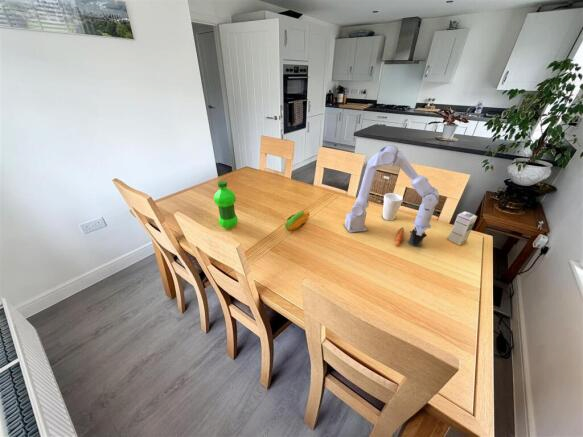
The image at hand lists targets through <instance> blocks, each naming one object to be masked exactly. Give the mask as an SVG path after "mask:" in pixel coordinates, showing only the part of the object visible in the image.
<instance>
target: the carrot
mask: <svg viewBox="0 0 583 437" xmlns="http://www.w3.org/2000/svg"><path fill="white" fill-rule="evenodd" d="M404 235H405V229H404V227H400V229H399V230H398V231H397V235H396V242H395V246H397V247H399V246H400V244H401V242H402V241H403V238H404Z"/></svg>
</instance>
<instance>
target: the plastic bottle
mask: <svg viewBox="0 0 583 437" xmlns="http://www.w3.org/2000/svg"><path fill="white" fill-rule="evenodd" d="M217 185H218V188H219V189H218V190H217V191H215V193H214V195H213V201H214V203H215V205H216V206H217V208H218V212H219V217H218V224H219V225H220V226H221V227H222V228H224V229H226V230H231V229H233V228H234V227H235V226H237V224H238V223H239V219H238V216H237V214H236V209H235V203H236V199H237V198H236V195H235V192H234V191H233V190H231V189H229V188H227V187H228V181H226V180H219V181H218V182H217Z"/></svg>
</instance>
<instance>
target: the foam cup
mask: <svg viewBox="0 0 583 437" xmlns="http://www.w3.org/2000/svg"><path fill="white" fill-rule="evenodd" d="M403 201H404V197H403V196H402V195H401V194H398V193H395V192H387V193H385V194H384V196H383V205H382V219H384V220H386V221H394V220H395V218H396V216H397V214H398V212H399V210H400V207H401V205H402V203H403Z"/></svg>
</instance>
